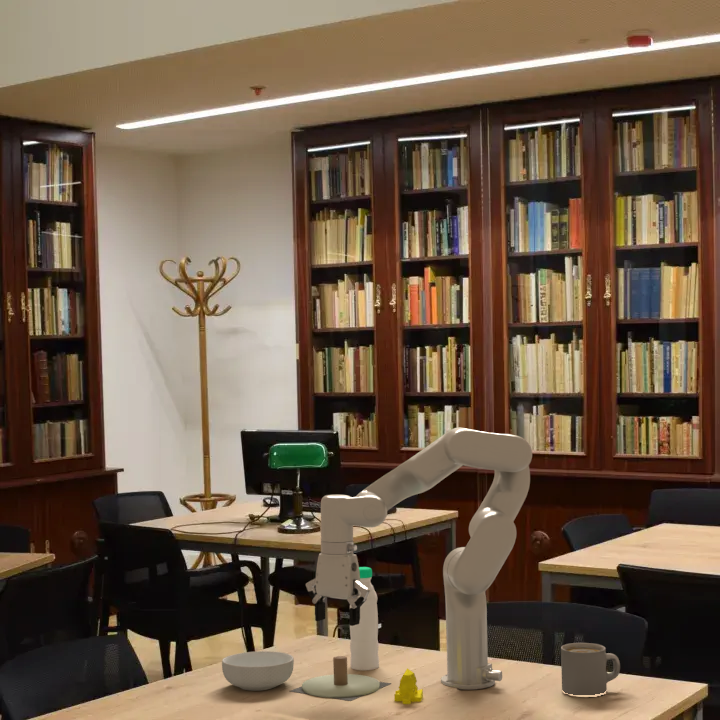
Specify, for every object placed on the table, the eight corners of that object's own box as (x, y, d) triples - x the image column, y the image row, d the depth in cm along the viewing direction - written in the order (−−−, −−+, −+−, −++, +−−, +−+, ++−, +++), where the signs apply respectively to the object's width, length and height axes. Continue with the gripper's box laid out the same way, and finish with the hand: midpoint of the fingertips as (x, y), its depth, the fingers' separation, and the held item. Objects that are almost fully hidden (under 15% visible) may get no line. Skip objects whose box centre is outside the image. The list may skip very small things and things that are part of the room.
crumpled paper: (424, 697, 265) (423, 663, 265) (419, 707, 257) (418, 671, 258) (398, 697, 266) (397, 662, 266) (393, 706, 258) (392, 671, 259)
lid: (394, 683, 276) (393, 654, 276) (351, 701, 261) (350, 670, 261) (331, 674, 286) (330, 645, 286) (286, 691, 271) (285, 661, 271)
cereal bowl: (309, 686, 277) (308, 656, 277) (256, 702, 265) (255, 670, 265) (260, 675, 288) (259, 646, 289) (207, 689, 276) (207, 659, 276)
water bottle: (376, 672, 288) (373, 570, 288) (347, 672, 289) (345, 570, 290) (381, 665, 295) (379, 565, 295) (353, 665, 296) (351, 565, 297)
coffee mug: (565, 698, 261) (564, 653, 262) (559, 686, 271) (557, 643, 272) (626, 697, 261) (625, 652, 261) (617, 685, 271) (616, 642, 271)
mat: (391, 686, 275) (391, 683, 275) (350, 703, 261) (350, 700, 261) (332, 677, 285) (332, 674, 285) (289, 693, 271) (289, 691, 271)
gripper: (377, 549, 272) (377, 623, 272) (316, 543, 282) (316, 615, 281) (358, 553, 266) (359, 629, 265) (297, 547, 275) (297, 621, 275)
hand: (337, 622), depth 273 cm, fingers open, 9 cm apart
